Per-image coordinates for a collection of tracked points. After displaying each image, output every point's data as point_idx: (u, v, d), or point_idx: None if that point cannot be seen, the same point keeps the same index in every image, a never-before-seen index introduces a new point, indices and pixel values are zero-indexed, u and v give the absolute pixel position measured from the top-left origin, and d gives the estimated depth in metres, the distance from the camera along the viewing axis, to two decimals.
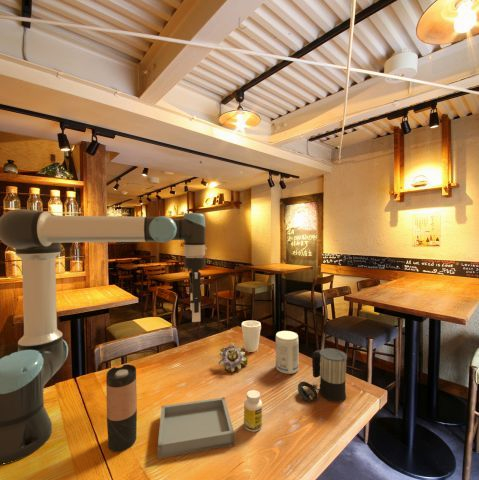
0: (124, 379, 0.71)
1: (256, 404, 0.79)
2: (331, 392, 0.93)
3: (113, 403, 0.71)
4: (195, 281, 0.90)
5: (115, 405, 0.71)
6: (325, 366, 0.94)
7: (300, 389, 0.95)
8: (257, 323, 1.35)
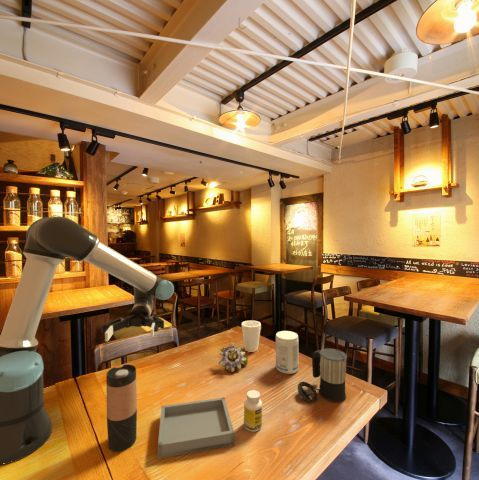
0: (124, 379, 0.71)
1: (256, 404, 0.79)
2: (331, 392, 0.93)
3: (113, 403, 0.71)
4: None
5: (115, 405, 0.71)
6: (325, 366, 0.94)
7: (300, 389, 0.95)
8: (257, 323, 1.35)
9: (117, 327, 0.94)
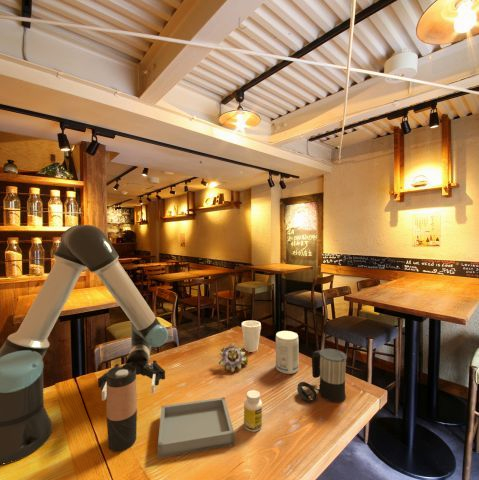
0: (124, 379, 0.71)
1: (256, 404, 0.79)
2: (331, 392, 0.93)
3: (113, 403, 0.71)
4: None
5: (115, 405, 0.71)
6: (324, 366, 0.94)
7: (299, 389, 0.95)
8: (257, 323, 1.35)
9: None
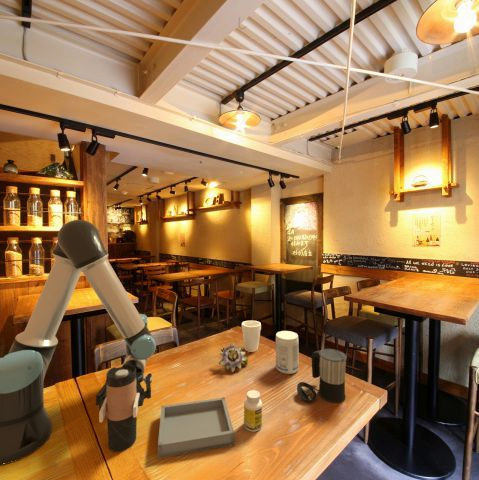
0: (124, 379, 0.71)
1: (256, 404, 0.79)
2: (330, 393, 0.92)
3: (113, 403, 0.71)
4: None
5: (115, 405, 0.71)
6: (324, 366, 0.94)
7: (299, 389, 0.95)
8: (257, 323, 1.35)
9: None
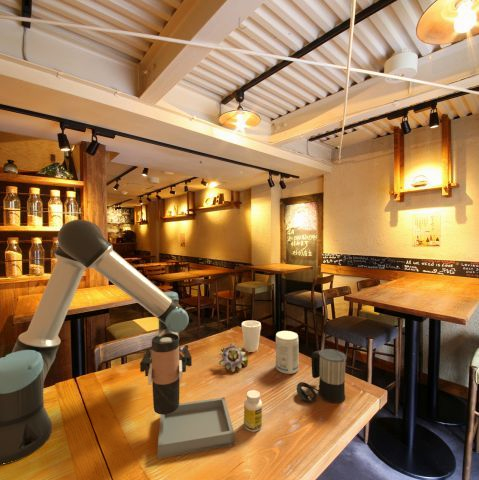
0: (170, 345, 0.74)
1: (256, 404, 0.79)
2: (330, 393, 0.92)
3: (160, 368, 0.74)
4: None
5: (162, 369, 0.74)
6: (324, 366, 0.94)
7: (299, 390, 0.95)
8: (257, 323, 1.34)
9: None
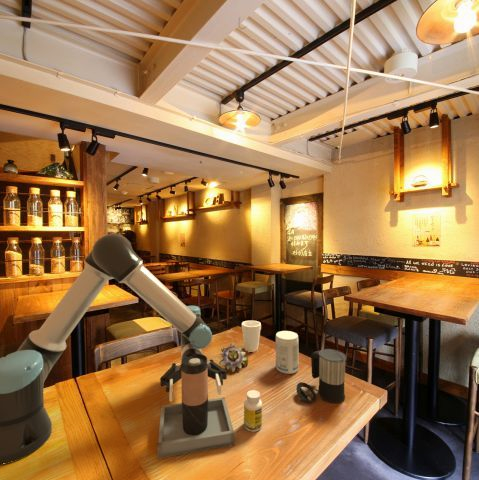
0: (200, 366, 0.76)
1: (256, 404, 0.79)
2: (330, 393, 0.92)
3: (190, 389, 0.75)
4: None
5: (192, 391, 0.75)
6: (323, 366, 0.93)
7: (298, 390, 0.94)
8: (257, 323, 1.35)
9: (175, 379, 0.83)
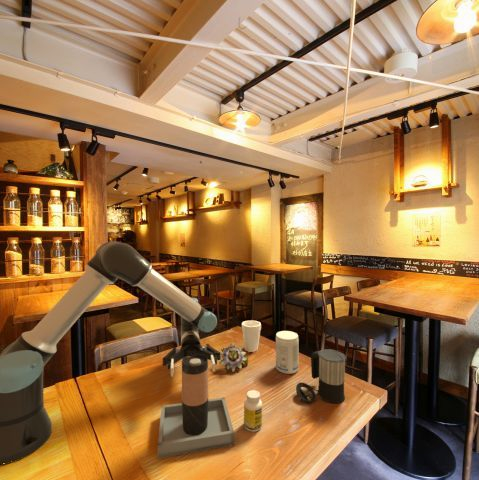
0: (200, 367, 0.76)
1: (256, 404, 0.79)
2: (329, 393, 0.92)
3: (191, 390, 0.75)
4: None
5: (192, 391, 0.75)
6: (323, 367, 0.93)
7: (298, 390, 0.94)
8: (257, 323, 1.35)
9: (176, 359, 0.96)
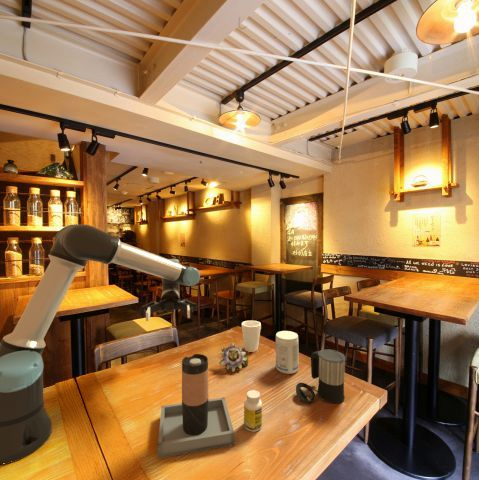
0: (200, 367, 0.76)
1: (256, 404, 0.79)
2: (329, 394, 0.92)
3: (191, 390, 0.75)
4: None
5: (192, 391, 0.75)
6: (323, 367, 0.93)
7: (298, 390, 0.94)
8: (257, 323, 1.35)
9: (153, 309, 0.98)
